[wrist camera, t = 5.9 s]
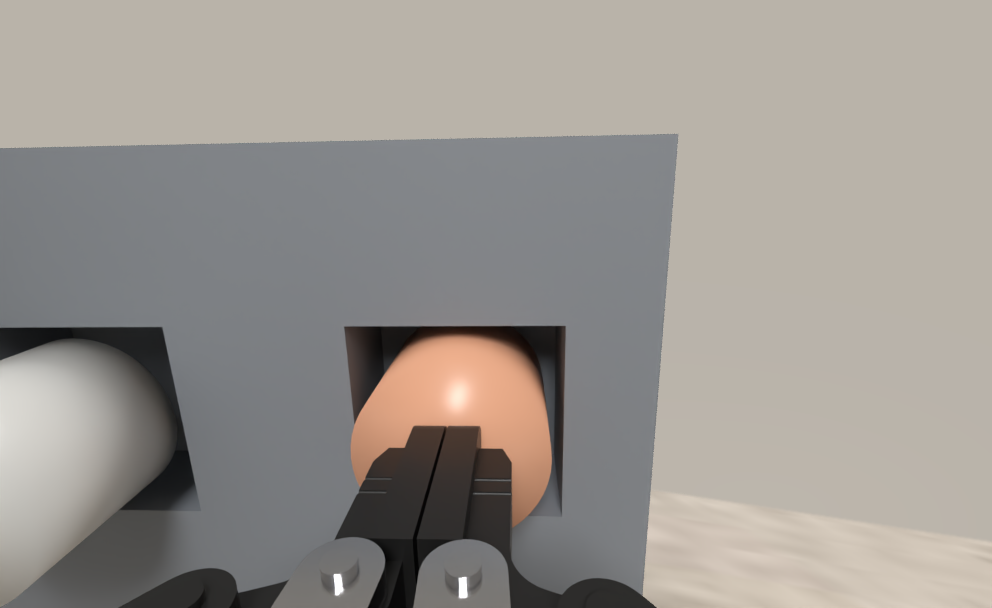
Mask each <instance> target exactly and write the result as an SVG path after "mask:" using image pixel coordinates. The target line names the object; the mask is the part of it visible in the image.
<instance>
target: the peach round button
mask: <svg viewBox="0 0 992 608" xmlns="http://www.w3.org/2000/svg"><path fill="white" fill-rule="evenodd" d="M413 426H447V427H448V426H480V428H481V448H491V449H503V450H504V451H505V453H506V455H507V456H508V458H509V459H510V461H511V462H512V528H513V527H514V526H516V525H517V524H518V523H520V522H521V521H522V520H524V519H525V518H526V517H527V516H528V515H529V514H530V513H531V512H532V510H533V509H534V508H535V507H536V505H537V504H538V503H539V501H540V499H541V498H542V496H543V494H544V492H545V490H546V487H547V485H548V482H549V478H550V473H551V465H552V453H551V442H550V434H549V425H548V417H547V409H546V400H545V392H544V383H543V375H542V370H541V366H540V363H539V360H538V358H537V356H536V354H535V352H534V350H533V348H532V347H531V345H530V344H529V343H528V341H527V340H526V339H525V338H524V337H523V336H522V335H521V334H520V333H519V332H518V331H517V330H515V329H514V328H513V327H511V326H421V327H420V328H418V329H417V330H416V331H415V332H414V333H413V334H412V335H411V336H410V337H409V338H408V339H407V341H406V342H405V344H404V345H403V347H402V348H401V350H400V351H399V353H398V354H397V356H396V357H395V359H394V360H393V362H392V364H391V365H390V367H389V368H388V370H387V371H386V373H385V374H384V376H383V377H382V379H381V381H380V382H379V384H378V385H377V387H376V388H375V390H374V391H373V393H372V394H371V396H370V398H369V399H368V401H367V402H366V404H365V405H364V407H363V408H362V410H361V412H360V413H359V416H358V418H357V420H356V422H355V425H354V429H353V433H352V438H351V461H352V467H353V471H354V474H355V477H356V480H357V482H358V484H359V486H360V487H361V485H362V483H363V481H364V480H365V477H366V475H367V473H368V471H369V469H370V467H371V465H372V463H373V461H374V460H375V459H376V458H378V457H379V456H380V455H381V454H382V453H383V452H385V451H386V450H387V449H388V448H405V445H406V443H407V440H408V438H409V435H410V433H411V430H412V428H413Z"/></svg>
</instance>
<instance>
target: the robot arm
mask: <svg viewBox="0 0 992 608" xmlns="http://www.w3.org/2000/svg"><path fill="white" fill-rule="evenodd" d="M119 608H656V607H655V606H654V605H653V604H651V603H650V602H649V601H648V600H647V599H645V598H644V597H643V596H642V595H641V594H639V593H638V592H637V591H635V590H634V589H633V588H631V587H629V586H627V585H625V584H623V583H620V582H618V581H614V580H610V579H604V578H591V579H585V580H582V581H579V582H577V583H575V584H573V585H571V586H570V587H569V588H568V589H566V591H565V592H564V593H563V594H562V595H561V594H558V593H555V592H552V591H548V590H546V589H543V588H540V587H538V586H536V585H534V584H532V583H531V582H529V581H528V580H527V579H525V578H524V577H523V576H522V575H521V574H520V573H519V572H518V570H517V569H516V568H515V566H514V564H513V562H512V462H511V461H510V459H509V458H508V456H507V455H506V453H505V451H504V450H503V449H491V448H481V428H480V426H448V427H447V426H413V428H412V430H411V433H410V435H409V438H408V440H407V443H406V445H405V448H388V449H387V450H386V451H385V452H383V453H382V454H381V455H380V456H379V457H378V458H376V459H375V460H374V461H373V463H372V465H371V467H370V469H369V471H368V473H367V475H366V477H365V480H364V481H363V483H362V485H361V487H360V489H359V493H358V494H357V495H356V497H355V499H354V501H353V503H352V505H351V507H350V509H349V511H348V513H347V515H346V517H345V519H344V521H343V523H342V525H341V527H340V529H339V531H338V533H337V535H336V537H335V539H334V540H333V541H330V542H328V543H326V544H323V545H321V546H320V547H318V548H316V549H315V550H313V551H312V552H311V553H309V554H308V555H307V556H306V557H305V558H304V559H303V560H302V561H301V563H300V564H299V565H298V567H297V568H296V570H295V571H294V573H293V574H292V576H291V577H290V579H289V580H287V581H284V582H281V583H277V584H273V585H269V586H265V587H261V588H257V589H253V590H248V591H244V592H240V593H238V590H237V585H236V580H235V579H234V577H233V576H232V575H231V574H230V573H229V572H227V571H225V570H222V569H218V568H204V569H198V570H193V571H190V572H186V573H183V574H181V575H178V576H176V577H174V578H172V579H170V580H168V581H166V582H164V583H162V584H160V585H159V586H157V587H155V588H153V589H151V590H150V591H148V592H146V593H144V594H142V595H140V596H139V597H137V598H135V599H133V600H131V601H129V602H128V603H126V604H124V605H122V606H120V607H119Z"/></svg>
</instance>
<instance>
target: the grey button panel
mask: <svg viewBox="0 0 992 608" xmlns="http://www.w3.org/2000/svg"><path fill="white" fill-rule="evenodd" d="M677 144H678V134H660V135H659V134H657V135H612V136H563V137H520V138H517V137H516V138H473V139H472V138H471V139H470V138H468V139H423V140H422V139H421V140H375V141H330V142H329V141H327V142H279V143H235V144H186V145H138V146H96V147H95V146H94V147H93V146H91V147H47V148H46V147H45V148H44V147H43V148H0V360H3V359H5V358H8V357H11V356H14V355H16V354H19V353H22V352H24V351H27V350H30V349H32V348H35V347H38V346H40V345H43V344H46V343H49V342H51V341H55V340H60V339H71V338H76V339H87V340H92V341H97V342H100V343H104V344H107V345H109V346H112V347H114V348H116V349H119V350H120V351H122V352H124V353H126V354H127V355H129V356H131V357H132V358H133V359H135V360H136V361H138V362H139V363H140V364H141V365H142V366H144V367H145V368H146V369H147V370H148V371H149V372H150V373H151V374H152V375H153V376H154V377H155V378H156V380H157V381H158V382H159V384H160V385H161V386H162V388H163V389H164V391H165V393H166V394H167V396H168V398H169V400H170V402H171V405H172V407H173V410H174V414H175V417H176V423H177V444H176V449H175V452H174V455H173V457H172V459H171V461H170V463H169V465H168V466H167V467H166V469H165V470H164V471H163V472H162V473H161V474H160V475H159V476H158V477H157V478H155V479H154V480H153V481H152V482H151V483H150V484H148V485H147V486H146V487H145V488H144V489H143V490H141V491H140V492H139V493H138V494H137V495H136V496H134V497H133V498H132V499H131V500H130V501H129V502H127V503H126V504H125V505H124V506H123V507H122V508H120V509H119V510H118V511H117V512H116V513H115V514H113V515H112V516H111V517H110V518H109V519H108V520H106V521H105V522H104V523H103V524H102V525H101V526H99V527H98V528H97V529H96V530H95V531H94V532H92V533H91V534H90V535H89V536H88V537H86V538H85V539H84V540H83V541H82V542H81V543H79V544H78V545H77V546H76V547H75V548H74V549H72V550H71V551H70V552H69V553H68V554H67V555H65V556H64V557H63V558H62V559H61V560H60V561H58V562H57V563H56V564H55V565H54V566H53V567H51V568H50V569H49V570H48V571H47V572H46V573H44V574H43V575H42V576H41V577H40V578H39V579H37V580H36V581H35V582H34V583H33V584H32V585H30V586H29V587H28V588H27V589H26V590H25V591H23V592H22V593H21V594H20V595H19V596H18V597H16V598H15V599H13V600H12V601H10V602H9V603H7V604H5V605H3V606H1V607H0V608H119V607H120V606H122V605H124V604H126V603H128V602H129V601H131V600H133V599H135V598H137V597H139V596H140V595H142V594H144V593H146V592H148V591H150V590H151V589H153V588H155V587H157V586H159V585H160V584H162V583H164V582H166V581H168V580H170V579H172V578H174V577H176V576H178V575H181V574H183V573H186V572H190V571H193V570H198V569H204V568H218V569H222V570H225V571H227V572H229V573H230V574H231V575H232V576H233V577H234V579H235V580H236V585H237V590H238V593H240V592H244V591H248V590H253V589H257V588H261V587H265V586H269V585H273V584H277V583H281V582H284V581H287V580H289V579H290V577H291V576H292V574H293V573H294V571H295V570H296V568H297V567H298V565H299V564H300V563H301V561H302V560H303V559H304V558H305V557H306V556H307V555H308V554H309V553H311V552H312V551H313V550H315V549H316V548H318V547H320V546H321V545H323V544H326V543H328V542H330V541H333V540H334V539H335V537H336V535H337V533H338V531H339V529H340V527H341V525H342V523H343V521H344V519H345V517H346V515H347V513H348V511H349V509H350V507H351V505H352V503H353V501H354V499H355V497H356V495H357V494H358V493H359V489H360V486H359V484H358V482H357V480H356V477H355V474H354V471H353V467H352V461H351V438H352V433H353V429H354V425H355V422H356V420H357V418H358V416H359V413H360V412H361V410H362V408H363V407H364V405H365V404H366V402H367V401H368V399H369V398H370V396H371V394H372V393H373V391H374V390H375V388H376V387H377V385H378V384H379V382H380V381H381V379H382V377H383V376H384V374H385V373H386V371H387V370H388V368H389V367H390V365H391V364H392V362H393V360H394V359H395V357H396V356H397V354H398V353H399V351H400V350H401V348H402V347H403V345H404V344H405V342H406V341H407V339H408V338H409V337H410V336H411V335H412V334H413V333H414V332H415V331H416V330H417V329H418V328H420V327H421V326H511V327H513V328H514V329H515V330H517V331H518V332H519V333H520V334H521V335H522V336H523V337H524V338H525V339H526V340H527V341H528V343H529V344H530V345H531V347H532V348H533V350H534V352H535V354H536V356H537V358H538V360H539V363H540V366H541V370H542V375H543V383H544V392H545V400H546V409H547V417H548V425H549V434H550V442H551V453H552V465H551V473H550V478H549V482H548V485H547V487H546V490H545V492H544V494H543V496H542V498H541V499H540V501H539V503H538V504H537V505H536V507H535V508H534V509H533V510H532V512H531V513H530V514H529V515H528V516H527V517H526V518H525V519H524V520H522V521H521V522H520V523H518V524H517V525H516V526H514V527H513V528H512V562H513V564H514V566H515V568H516V569H517V570H518V572H519V573H520V574H521V575H522V576H523V577H524V578H525V579H527V580H528V581H529V582H531V583H532V584H534V585H536V586H538V587H540V588H543V589H546V590H548V591H552V592H555V593H558V594H561V595H562V594H563V593H564V592H565V591H566V589H568V588H569V587H570V586H571V585H573V584H575V583H577V582H579V581H582V580H585V579H591V578H604V579H610V580H614V581H618V582H620V583H623V584H625V585H627V586H629V587H631V588H633V589H634V590H635V591H637V592H638V593H639V594H641V595H642V593H643V580H644V567H645V554H646V542H647V529H648V516H649V503H650V490H651V477H652V464H653V452H654V451H653V450H654V439H655V426H656V413H657V412H656V411H657V400H658V388H659V387H658V386H659V375H660V361H661V348H662V336H663V323H664V311H665V309H664V308H665V298H666V285H667V271H668V259H669V246H670V232H671V221H672V208H673V194H674V181H675V169H676V157H677Z"/></svg>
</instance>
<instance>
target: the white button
mask: <svg viewBox="0 0 992 608" xmlns="http://www.w3.org/2000/svg"><path fill="white" fill-rule="evenodd" d="M176 444H177V423H176V417H175V414H174V410H173V407H172V405H171V402H170V400H169V398H168V396H167V394H166V393H165V391H164V389H163V388H162V386H161V385H160V384H159V382H158V381H157V380H156V378H155V377H154V376H153V375H152V374H151V373H150V372H149V371H148V370H147V369H146V368H145V367H144V366H142V365H141V364H140V363H139V362H138V361H136V360H135V359H133V358H132V357H131V356H129V355H127V354H126V353H124V352H122V351H120V350H119V349H116V348H114V347H112V346H109V345H107V344H104V343H100V342H97V341H92V340H87V339H76V338H71V339H60V340H55V341H51V342H49V343H46V344H43V345H40V346H38V347H35V348H32V349H30V350H27V351H24V352H22V353H19V354H16V355H14V356H11V357H8V358H5V359H3V360H0V607H1V606H3V605H5V604H7V603H9V602H10V601H12V600H13V599H15V598H16V597H18V596H19V595H20V594H21V593H22V592H23V591H25V590H26V589H27V588H28V587H29V586H30V585H32V584H33V583H34V582H35V581H36V580H37V579H39V578H40V577H41V576H42V575H43V574H44V573H46V572H47V571H48V570H49V569H50V568H51V567H53V566H54V565H55V564H56V563H57V562H58V561H60V560H61V559H62V558H63V557H64V556H65V555H67V554H68V553H69V552H70V551H71V550H72V549H74V548H75V547H76V546H77V545H78V544H79V543H81V542H82V541H83V540H84V539H85V538H86V537H88V536H89V535H90V534H91V533H92V532H94V531H95V530H96V529H97V528H98V527H99V526H101V525H102V524H103V523H104V522H105V521H106V520H108V519H109V518H110V517H111V516H112V515H113V514H115V513H116V512H117V511H118V510H119V509H120V508H122V507H123V506H124V505H125V504H126V503H127V502H129V501H130V500H131V499H132V498H133V497H134V496H136V495H137V494H138V493H139V492H140V491H141V490H143V489H144V488H145V487H146V486H147V485H148V484H150V483H151V482H152V481H153V480H154V479H155V478H157V477H158V476H159V475H160V474H161V473H162V472H163V471H164V470H165V469H166V467H167V466H168V465H169V463H170V461H171V459H172V457H173V455H174V452H175V449H176Z"/></svg>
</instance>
